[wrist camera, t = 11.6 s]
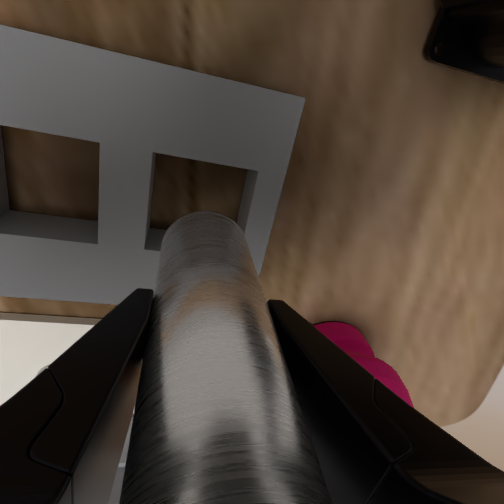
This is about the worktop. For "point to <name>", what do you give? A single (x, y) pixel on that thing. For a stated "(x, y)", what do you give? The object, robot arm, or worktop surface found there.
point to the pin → (216, 383)
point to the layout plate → (34, 346)
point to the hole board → (128, 159)
